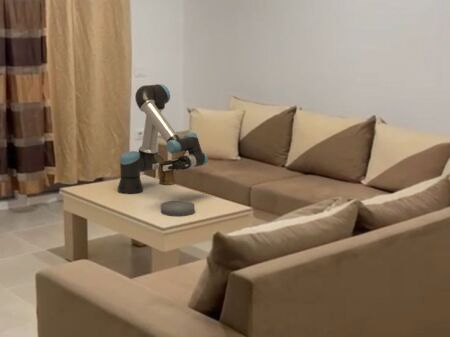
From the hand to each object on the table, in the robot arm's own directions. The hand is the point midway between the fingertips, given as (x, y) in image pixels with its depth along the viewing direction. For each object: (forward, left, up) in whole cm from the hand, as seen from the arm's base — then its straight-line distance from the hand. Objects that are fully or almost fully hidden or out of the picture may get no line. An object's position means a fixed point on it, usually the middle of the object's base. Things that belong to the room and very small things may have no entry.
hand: (158, 167), depth 403 cm
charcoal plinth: (+6, +10, -23) cm, 26 cm away
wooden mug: (-3, +3, -10) cm, 11 cm away
